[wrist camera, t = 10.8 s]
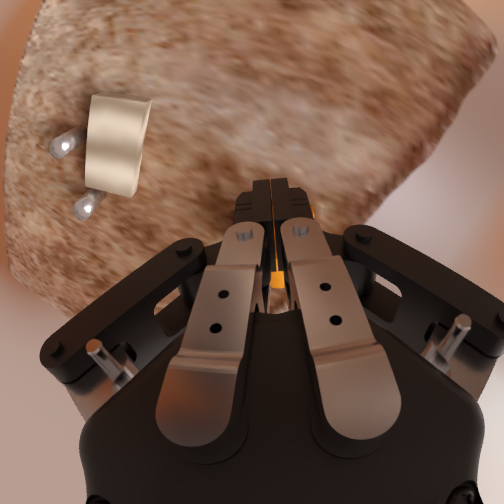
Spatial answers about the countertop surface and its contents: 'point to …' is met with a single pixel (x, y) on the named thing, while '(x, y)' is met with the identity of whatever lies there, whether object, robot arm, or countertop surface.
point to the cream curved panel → (115, 142)
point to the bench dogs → (62, 148)
